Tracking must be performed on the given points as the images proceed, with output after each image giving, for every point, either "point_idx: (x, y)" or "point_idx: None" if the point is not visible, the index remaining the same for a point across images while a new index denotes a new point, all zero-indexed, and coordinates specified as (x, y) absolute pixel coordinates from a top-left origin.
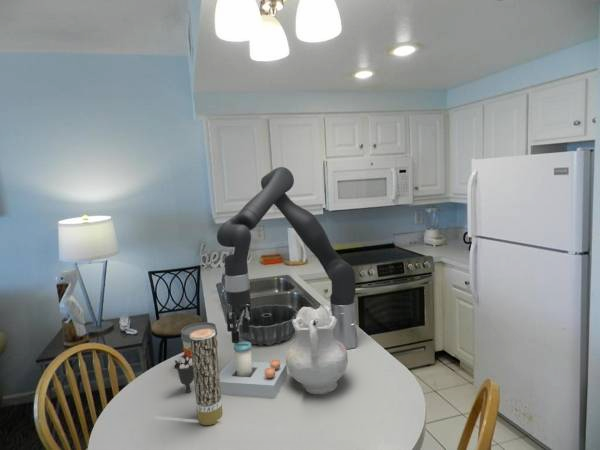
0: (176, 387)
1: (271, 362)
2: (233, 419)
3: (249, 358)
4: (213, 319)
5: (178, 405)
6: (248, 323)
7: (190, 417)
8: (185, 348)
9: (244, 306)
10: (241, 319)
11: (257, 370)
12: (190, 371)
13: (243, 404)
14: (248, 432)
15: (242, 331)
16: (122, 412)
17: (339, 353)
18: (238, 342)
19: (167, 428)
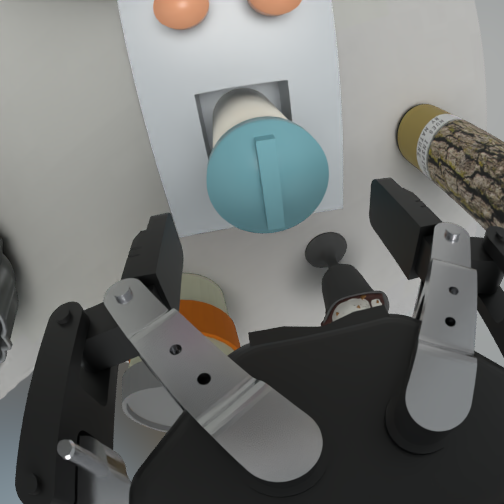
0: (296, 295)
1: (192, 16)
2: (416, 72)
3: (266, 109)
4: (14, 384)
5: (372, 241)
6: (156, 261)
7: (415, 185)
8: None
9: (274, 495)
10: (450, 297)
11: (219, 80)
12: (364, 285)
13: (347, 70)
14: (449, 20)
15: (10, 314)
16: (393, 312)
17: None
18: (389, 179)
19: (446, 208)
